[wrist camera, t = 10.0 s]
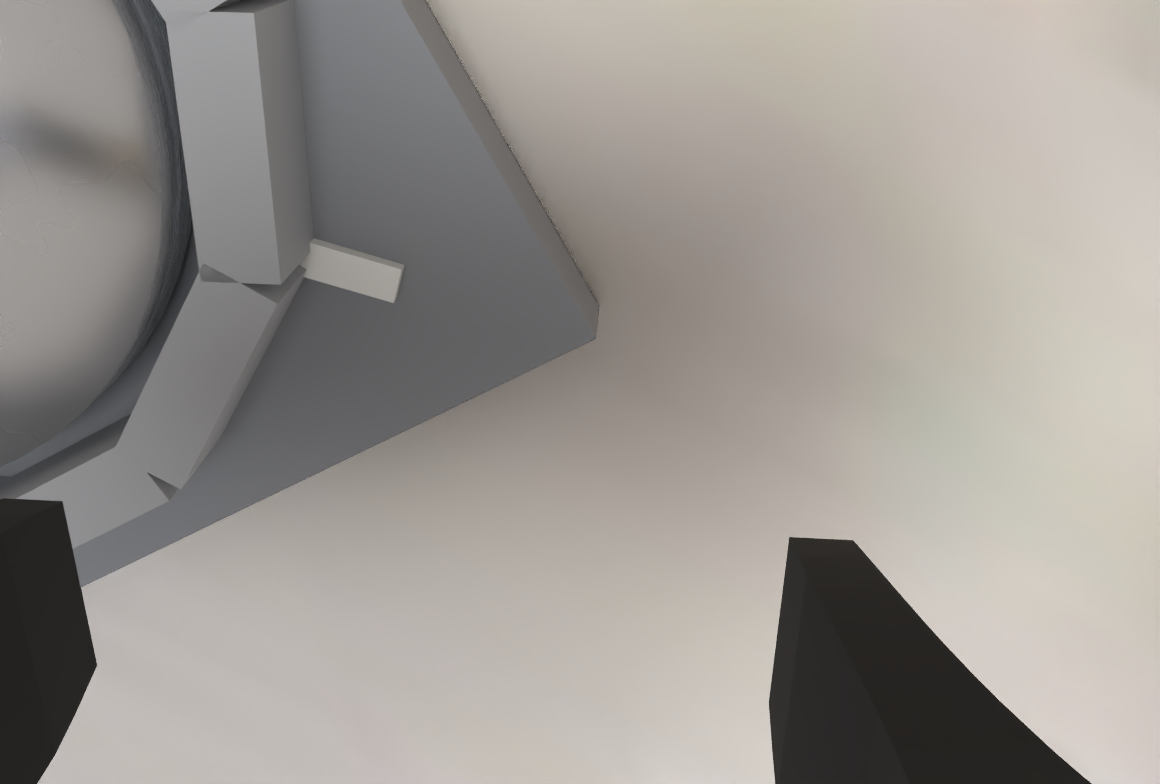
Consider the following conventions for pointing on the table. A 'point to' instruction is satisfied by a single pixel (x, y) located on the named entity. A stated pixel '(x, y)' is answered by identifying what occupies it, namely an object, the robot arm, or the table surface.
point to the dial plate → (312, 272)
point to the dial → (83, 204)
